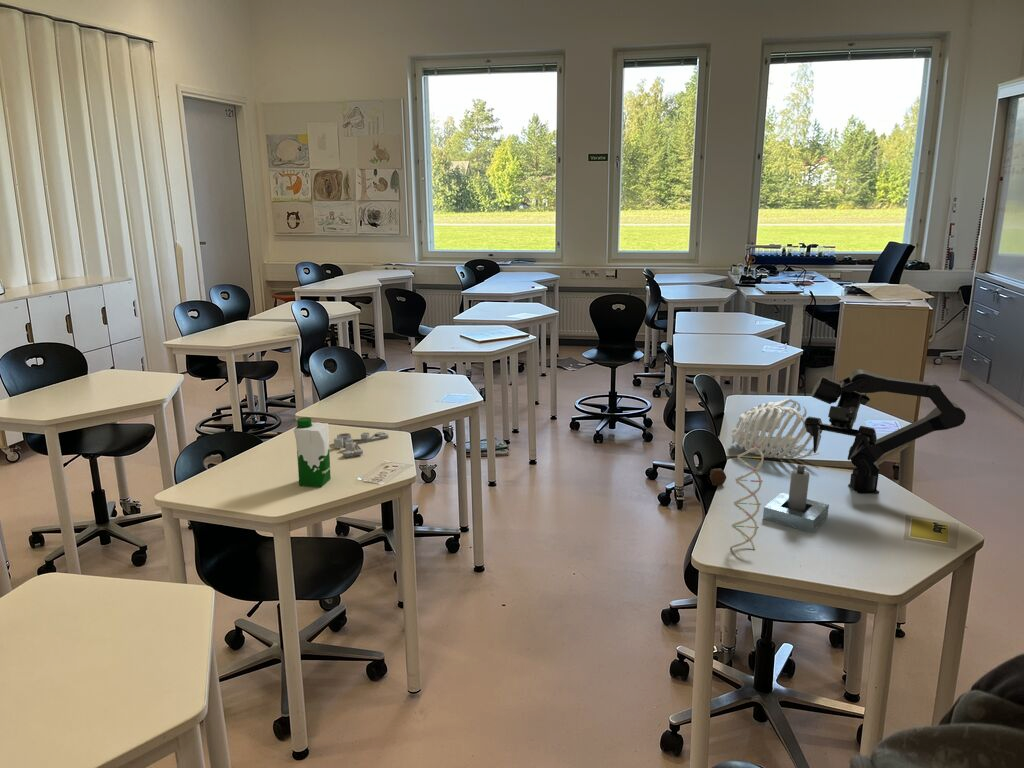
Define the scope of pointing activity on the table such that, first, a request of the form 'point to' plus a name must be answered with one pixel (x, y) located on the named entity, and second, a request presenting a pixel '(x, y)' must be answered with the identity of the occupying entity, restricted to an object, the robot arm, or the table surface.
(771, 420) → the rib cage
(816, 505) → the grey square frame
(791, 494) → the plug
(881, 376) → the robot arm
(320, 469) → the milk carton
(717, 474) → the bolt
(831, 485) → the table surface
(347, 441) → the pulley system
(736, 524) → the dna model
